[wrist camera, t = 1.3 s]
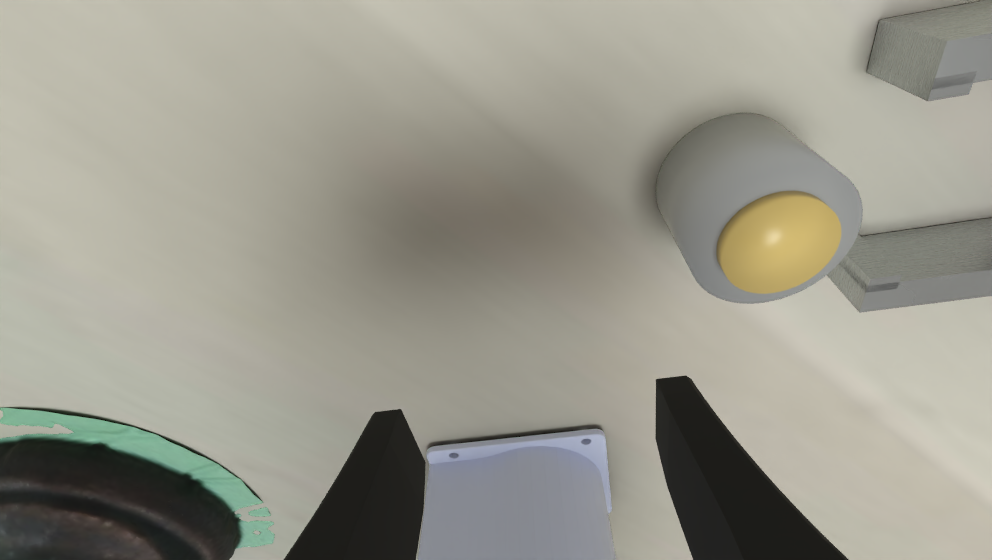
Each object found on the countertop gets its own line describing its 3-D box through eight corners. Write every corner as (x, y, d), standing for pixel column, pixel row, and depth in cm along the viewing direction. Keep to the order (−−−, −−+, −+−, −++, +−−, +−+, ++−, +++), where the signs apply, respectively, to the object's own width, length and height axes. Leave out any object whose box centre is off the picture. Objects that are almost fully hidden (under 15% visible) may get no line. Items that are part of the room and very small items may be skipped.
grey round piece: (654, 246, 20) (689, 323, 16) (655, 126, 17) (698, 187, 13) (784, 226, 19) (850, 302, 16) (807, 100, 16) (895, 156, 13)
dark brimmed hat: (-3, 584, 37) (-198, 396, 25) (272, 483, 45) (220, 305, 33) (-61, 861, 26) (-439, 757, 15) (311, 664, 34) (255, 496, 23)
